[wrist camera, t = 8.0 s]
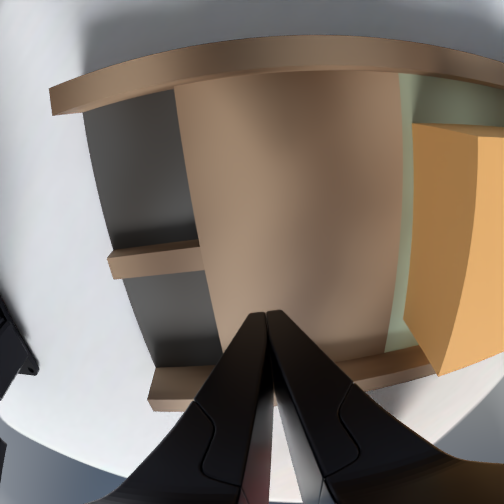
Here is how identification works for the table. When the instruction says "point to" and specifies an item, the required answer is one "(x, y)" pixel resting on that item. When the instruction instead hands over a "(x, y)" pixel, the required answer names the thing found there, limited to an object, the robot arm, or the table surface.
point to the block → (457, 244)
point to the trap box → (271, 191)
